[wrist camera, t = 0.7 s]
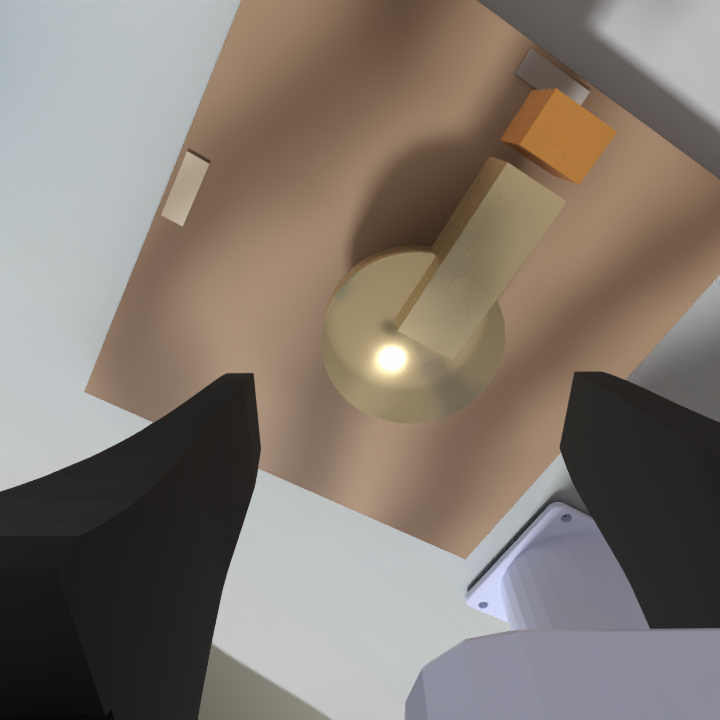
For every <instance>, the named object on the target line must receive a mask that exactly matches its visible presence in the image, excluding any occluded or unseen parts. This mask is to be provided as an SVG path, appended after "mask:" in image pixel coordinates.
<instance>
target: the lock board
mask: <svg viewBox="0 0 720 720" xmlns="http://www.w3.org/2000/svg"><path fill="white" fill-rule="evenodd" d="M553 88H557V89H558V90H560V91H561V92H562V93H564V94H565V95H567V96H568V97H569V98H571V99H572V100H574V101H575V102H576V103H578V104H579V105H581V106H582V107H583V108H585V109H586V110H587V111H589V112H590V113H592V114H593V115H594V116H596V117H597V118H599V119H600V120H601V121H603V122H604V123H605V124H607V125H608V126H610V127H611V128H612V129H614V130H615V131H617V133H616V134H615V136H614V137H613V139H612V140H611V141H610V143H609V144H608V146H607V147H606V148H605V150H604V151H603V153H602V154H601V155H600V157H599V158H598V159H597V161H596V162H595V164H594V165H593V166H592V168H591V169H590V171H589V172H588V173H587V175H586V176H585V177H584V179H583V180H582V182H581V183H580V184H579V185H578V184H575V183H572V182H569V181H566V180H563V179H560V178H557V177H554V176H552V175H551V174H549V173H548V172H546V171H545V170H543V169H542V168H540V167H539V166H537V165H536V164H534V163H533V162H531V161H530V160H528V159H527V158H526V157H524V156H523V155H521V154H520V153H518V152H517V151H515V150H514V149H512V148H511V147H509V146H508V145H506V144H505V143H503V142H502V141H500V140H501V138H502V136H503V135H504V133H505V132H506V130H507V129H508V127H509V126H510V124H511V122H512V121H513V119H514V118H515V116H516V115H517V113H518V111H519V110H520V108H521V107H522V105H523V104H524V102H525V100H526V99H527V97H528V96H529V94H530V93H531V91H533V90H543V89H553ZM490 156H491V157H494V158H497V159H499V160H502V161H505V162H508V163H510V164H511V165H513V166H514V167H516V168H517V169H519V170H520V171H522V172H523V173H525V174H526V175H528V176H529V177H531V178H532V179H534V180H535V181H537V182H538V183H540V184H541V185H543V186H544V187H546V188H547V189H549V190H550V191H552V192H553V193H555V194H556V195H558V196H559V197H561V198H562V199H564V200H565V201H567V202H566V204H565V205H564V207H563V208H562V209H561V211H560V212H559V213H558V215H557V216H556V218H555V219H554V220H553V222H552V223H551V225H550V226H549V227H548V229H547V230H546V231H545V233H544V234H543V236H542V237H541V238H540V240H539V241H538V243H537V244H536V245H535V247H534V248H533V250H532V251H531V252H530V254H529V255H528V256H527V258H526V259H525V261H524V262H523V263H522V265H521V266H520V268H519V269H518V270H517V272H516V273H515V274H514V276H513V277H512V279H511V280H510V281H509V283H508V284H507V286H506V287H505V288H504V290H503V291H502V292H501V294H500V295H499V297H498V298H497V301H498V303H499V306H500V308H501V311H502V314H503V318H504V322H505V334H506V335H505V347H504V352H503V356H502V359H501V362H500V365H499V367H498V369H497V371H496V373H495V375H494V377H493V379H492V380H491V381H490V383H489V384H488V386H487V387H486V388H485V389H484V390H483V392H482V393H481V394H480V395H479V396H478V397H476V398H475V399H474V400H473V401H472V402H471V403H469V404H468V405H466V406H465V407H464V408H462V409H460V410H458V411H457V412H455V413H453V414H450V415H448V416H446V417H443V418H440V419H437V420H433V421H428V422H423V423H410V424H408V423H395V422H389V421H385V420H381V419H378V418H375V417H373V416H370V415H368V414H366V413H364V412H362V411H361V410H359V409H357V408H356V407H355V406H353V405H352V404H351V403H349V402H348V401H347V400H346V399H345V398H344V397H343V396H342V395H341V394H340V393H339V391H338V390H337V389H336V388H335V386H334V385H333V383H332V381H331V379H330V378H329V376H328V373H327V371H326V368H325V365H324V361H323V357H322V348H321V339H322V329H323V321H324V316H325V310H326V307H327V304H328V301H329V299H330V297H331V295H332V293H333V291H334V289H335V288H336V286H337V285H338V283H339V282H340V280H341V279H342V278H343V277H344V276H345V275H346V274H347V272H349V271H350V270H351V269H352V268H353V267H354V266H355V265H357V264H358V263H360V262H361V261H363V260H364V259H366V258H367V257H369V256H371V255H373V254H375V253H378V252H380V251H383V250H386V249H389V248H394V247H399V246H410V245H417V246H428V247H432V246H433V245H434V243H435V242H436V240H437V238H438V237H439V235H440V234H441V232H442V231H443V229H444V227H445V226H446V224H447V223H448V221H449V220H450V218H451V216H452V215H453V213H454V212H455V210H456V209H457V207H458V205H459V204H460V202H461V201H462V199H463V198H464V196H465V194H466V193H467V191H468V190H469V188H470V187H471V185H472V184H473V182H474V180H475V179H476V177H477V176H478V174H479V173H480V171H481V169H482V168H483V166H484V165H485V163H486V162H487V160H488V158H489V157H490ZM719 275H720V179H719V178H717V177H716V176H714V175H713V174H712V173H710V172H709V171H708V170H706V169H705V168H704V167H702V166H701V165H700V164H698V163H697V162H695V161H694V160H693V159H691V158H690V157H689V156H687V155H686V154H685V153H683V152H682V151H681V150H679V149H678V148H676V147H675V146H674V145H672V144H671V143H670V142H668V141H667V140H666V139H664V138H663V137H662V136H660V135H659V134H657V133H656V132H655V131H653V130H652V129H651V128H649V127H648V126H647V125H645V124H644V123H643V122H641V121H640V120H638V119H637V118H636V117H634V116H633V115H632V114H630V113H629V112H628V111H626V110H625V109H624V108H622V107H621V106H620V105H618V104H617V103H615V102H614V101H613V100H611V99H610V98H609V97H607V96H606V95H605V94H603V93H602V92H601V91H599V90H598V89H596V88H595V87H594V86H592V85H591V84H590V83H588V82H587V81H586V80H584V79H583V78H582V77H580V76H579V75H577V74H576V73H575V72H573V71H572V70H571V69H569V68H568V67H567V66H565V65H564V64H563V63H561V62H560V61H558V60H557V59H556V58H554V57H553V56H552V55H550V54H549V53H548V52H546V51H545V50H544V49H542V48H541V47H539V46H538V45H537V44H535V43H534V42H533V41H531V40H530V39H529V38H527V37H526V36H525V35H523V34H522V33H520V32H519V31H518V30H516V29H515V28H514V27H512V26H511V25H510V24H508V23H507V22H506V21H504V20H503V19H501V18H500V17H499V16H497V15H496V14H495V13H493V12H492V11H491V10H489V9H488V8H487V7H485V6H484V5H482V4H481V3H480V2H478V1H477V0H241V3H240V5H239V8H238V10H237V13H236V15H235V18H234V20H233V23H232V25H231V28H230V30H229V33H228V35H227V38H226V40H225V43H224V45H223V48H222V50H221V53H220V55H219V58H218V60H217V63H216V65H215V68H214V70H213V73H212V75H211V78H210V80H209V83H208V85H207V88H206V90H205V93H204V95H203V97H202V100H201V102H200V105H199V107H198V110H197V112H196V115H195V117H194V120H193V122H192V125H191V127H190V130H189V132H188V135H187V137H186V140H185V142H184V145H183V147H182V150H181V152H180V155H179V157H178V160H177V162H176V165H175V167H174V170H173V172H172V175H171V177H170V180H169V182H168V185H167V187H166V190H165V192H164V195H163V197H162V200H161V202H160V205H159V207H158V209H157V212H156V214H155V217H154V219H153V222H152V224H151V227H150V229H149V232H148V234H147V237H146V239H145V242H144V244H143V247H142V249H141V252H140V254H139V257H138V259H137V262H136V264H135V267H134V269H133V272H132V274H131V277H130V279H129V282H128V284H127V287H126V289H125V292H124V294H123V297H122V299H121V302H120V304H119V307H118V309H117V312H116V314H115V316H114V319H113V321H112V324H111V326H110V329H109V331H108V334H107V336H106V339H105V341H104V344H103V346H102V349H101V351H100V354H99V356H98V359H97V361H96V364H95V366H94V369H93V371H92V374H91V376H90V379H89V381H88V384H87V386H86V389H85V391H84V392H86V393H88V394H90V395H92V396H95V397H97V398H99V399H102V400H104V401H106V402H108V403H111V404H113V405H115V406H118V407H120V408H122V409H124V410H127V411H129V412H131V413H133V414H136V415H138V416H140V417H143V418H145V419H147V420H149V421H152V422H155V421H157V420H159V419H160V418H162V417H163V416H165V415H166V414H168V413H170V412H171V411H173V410H174V409H176V408H177V407H178V406H180V405H181V404H183V403H184V402H186V401H187V400H188V399H190V398H191V397H193V396H194V395H195V394H197V393H198V392H200V391H201V390H202V389H204V388H205V387H206V386H208V385H209V384H211V383H212V382H213V381H215V380H216V379H218V378H219V377H221V376H222V375H224V374H226V373H254V381H255V391H256V401H257V412H258V422H259V432H260V443H261V453H260V460H259V466H258V468H259V469H261V470H263V471H266V472H268V473H270V474H272V475H275V476H277V477H279V478H282V479H284V480H286V481H288V482H291V483H293V484H295V485H297V486H300V487H302V488H304V489H307V490H309V491H311V492H313V493H316V494H318V495H320V496H323V497H325V498H327V499H329V500H332V501H334V502H336V503H338V504H341V505H343V506H345V507H348V508H350V509H352V510H354V511H357V512H359V513H361V514H363V515H366V516H368V517H370V518H373V519H375V520H377V521H379V522H382V523H384V524H386V525H389V526H391V527H393V528H395V529H398V530H400V531H402V532H404V533H407V534H409V535H411V536H414V537H416V538H418V539H420V540H423V541H425V542H427V543H430V544H432V545H434V546H436V547H439V548H441V549H443V550H445V551H448V552H450V553H452V554H455V555H457V556H459V557H461V558H464V559H466V558H467V557H468V556H469V555H470V554H471V552H472V551H473V550H474V549H475V548H476V547H477V546H478V545H479V543H480V542H481V541H482V540H483V539H484V538H485V537H486V536H487V534H488V533H489V532H490V531H491V530H492V529H493V528H494V527H495V525H496V524H497V523H498V522H499V521H500V520H501V519H502V518H503V517H504V515H505V514H506V513H507V512H508V511H509V510H510V509H511V508H512V506H513V505H514V504H515V503H516V502H517V501H518V500H519V499H520V497H521V496H522V495H523V494H524V493H525V492H526V491H527V490H528V489H529V487H530V486H531V485H532V484H533V483H534V482H535V481H536V480H537V478H538V477H539V476H540V475H541V474H542V473H543V472H544V471H545V469H546V468H547V467H548V466H549V465H550V464H551V463H552V462H553V461H554V459H555V458H556V457H557V456H558V455H559V454H560V453H561V451H560V448H559V447H560V442H561V437H562V432H563V427H564V422H565V417H566V412H567V407H568V401H569V396H570V391H571V386H572V381H573V376H574V372H587V371H602V372H605V373H608V374H611V375H614V376H617V377H619V378H622V379H624V380H626V379H627V378H628V377H629V375H630V374H631V373H632V372H633V371H634V370H635V369H636V368H637V366H638V365H639V364H640V363H641V362H642V361H643V360H644V359H645V357H646V356H647V355H648V354H649V353H650V352H651V351H652V350H653V348H654V347H655V346H656V345H657V344H658V343H659V342H660V341H661V340H662V338H663V337H664V336H665V335H666V334H667V333H668V332H669V331H670V329H671V328H672V327H673V326H674V325H675V324H676V323H677V322H678V320H679V319H680V318H681V317H682V316H683V315H684V314H685V313H686V312H687V310H688V309H689V308H690V307H691V306H692V305H693V304H694V303H695V301H696V300H697V299H698V298H699V297H700V296H701V295H702V294H703V292H704V291H705V290H706V289H707V288H708V287H709V286H710V285H711V284H712V282H713V281H714V280H715V279H716V278H717V277H718V276H719Z"/></svg>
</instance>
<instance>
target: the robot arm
mask: <svg viewBox="0 0 720 720" xmlns="http://www.w3.org/2000/svg"><path fill="white" fill-rule="evenodd" d="M559 448H560V451H561V453H562V456H563V459H564V462H565V464H566V467H567V470H568V472H569V474H570V477H571V479H572V482H573V484H574V486H575V488H576V490H577V492H578V493H579V495H580V497H581V499H582V500H583V502H584V504H585V506H586V508H587V509H588V511H589V513H590V515H591V516H592V517H590V516H588V515H586V514H584V513H582V512H580V511H578V510H576V509H574V508H572V507H570V506H568V505H566V504H564V503H561V502H554V503H551V504H550V505H549V506H548V507H547V508H546V509H545V510H544V511H543V512H542V513H541V514H540V515H539V516H538V518H537V519H536V520H535V521H534V522H533V523H532V524H531V525H530V526H529V527H528V528H527V529H526V530H525V532H524V533H523V534H522V535H521V536H520V537H519V538H518V539H517V540H516V541H515V542H514V543H513V544H512V546H511V547H510V548H509V549H508V550H507V551H506V552H505V553H504V554H503V555H502V556H501V557H500V558H499V560H498V561H497V562H496V563H495V564H494V565H493V566H492V567H491V568H490V569H489V570H488V571H487V572H486V573H485V575H484V576H483V577H482V578H481V579H480V580H479V581H478V582H477V583H476V584H475V585H474V586H473V587H472V589H471V590H470V591H469V592H468V593H467V594H466V597H465V599H466V603H467V605H468V606H470V607H472V608H474V609H477V610H479V611H481V612H484V613H486V614H489V615H491V616H493V617H496V618H498V619H501V620H503V621H506V622H508V623H509V626H510V630H511V631H507V632H502V633H497V634H491V635H486V636H481V637H475V638H470V639H465V640H464V641H462V642H461V643H459V644H457V645H456V646H454V647H453V648H451V649H450V650H448V651H446V652H445V653H443V654H442V655H440V656H438V657H437V658H435V659H434V660H432V661H431V662H429V663H428V664H427V665H426V666H425V667H423V668H422V669H421V672H420V674H419V676H418V678H417V680H416V682H415V684H414V686H413V688H412V690H411V692H410V694H409V696H408V698H407V700H406V705H405V720H720V423H719V422H717V421H714V420H712V419H710V418H707V417H705V416H703V415H700V414H698V413H696V412H694V411H691V410H689V409H687V408H685V407H683V406H680V405H678V404H676V403H674V402H672V401H670V400H668V399H665V398H663V397H661V396H659V395H657V394H655V393H653V392H650V391H648V390H646V389H644V388H642V387H640V386H637V385H635V384H633V383H631V382H629V381H626V380H624V379H622V378H619V377H617V376H614V375H611V374H608V373H605V372H602V371H587V372H574V376H573V381H572V386H571V391H570V396H569V401H568V407H567V412H566V417H565V422H564V427H563V432H562V437H561V442H560V447H559ZM260 453H261V443H260V432H259V422H258V412H257V401H256V391H255V381H254V373H226V374H224V375H222V376H221V377H219V378H218V379H216V380H215V381H213V382H212V383H211V384H209V385H208V386H206V387H205V388H204V389H202V390H201V391H200V392H198V393H197V394H195V395H194V396H193V397H191V398H190V399H188V400H187V401H186V402H184V403H183V404H181V405H180V406H178V407H177V408H176V409H174V410H173V411H171V412H170V413H168V414H166V415H165V416H163V417H162V418H160V419H159V420H157V421H155V422H154V423H152V424H151V425H149V426H148V427H146V428H144V429H143V430H141V431H140V432H138V433H136V434H134V435H133V436H131V437H129V438H127V439H125V440H124V441H122V442H120V443H118V444H116V445H114V446H112V447H110V448H108V449H106V450H104V451H102V452H100V453H98V454H96V455H94V456H92V457H90V458H87V459H85V460H83V461H80V462H78V463H75V464H73V465H71V466H68V467H66V468H63V469H61V470H59V471H56V472H54V473H52V474H49V475H47V476H44V477H42V478H39V479H36V480H33V481H30V482H28V483H25V484H22V485H19V486H16V487H13V488H10V489H7V490H4V491H1V492H0V720H198V714H199V708H200V703H201V697H202V691H203V685H204V680H205V675H206V669H207V665H208V659H209V654H210V649H211V644H212V638H213V633H214V628H215V624H216V619H217V614H218V609H219V604H220V600H221V595H222V590H223V586H224V583H225V579H226V575H227V572H228V568H229V565H230V562H231V559H232V556H233V553H234V550H235V547H236V544H237V541H238V538H239V535H240V532H241V528H242V525H243V522H244V519H245V516H246V513H247V510H248V507H249V504H250V500H251V497H252V494H253V491H254V487H255V483H256V477H257V472H258V466H259V460H260ZM566 514H568V515H567V516H565V517H562V516H564V515H566Z"/></svg>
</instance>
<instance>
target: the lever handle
mask: <svg viewBox="0 0 720 720" xmlns="http://www.w3.org/2000/svg"><path fill="white" fill-rule="evenodd" d="M616 133H617V131H615V130H614V129H612V128H611V127H610V126H608V125H607V124H605V123H604V122H603V121H601V120H600V119H599V118H597V117H596V116H594V115H593V114H592V113H590V112H589V111H587V110H586V109H585V108H583V107H582V106H581V105H579V104H578V103H576V102H575V101H574V100H572V99H571V98H569V97H568V96H567V95H565V94H564V93H562V92H561V91H560V90H558V89H557V88H553V89H543V90H533V91H531V93H530V94H529V96H528V97H527V99H526V100H525V102H524V104H523V105H522V107H521V108H520V110H519V111H518V113H517V115H516V116H515V118H514V119H513V121H512V122H511V124H510V126H509V127H508V129H507V130H506V132H505V133H504V135H503V136H502V138H501V140H500V141H502V142H503V143H505V144H506V145H508V146H509V147H511V148H512V149H514V150H515V151H517V152H518V153H520V154H521V155H523V156H524V157H526V158H527V159H528V160H530V161H531V162H533V163H534V164H536V165H537V166H539V167H540V168H542V169H543V170H545V171H546V172H548V173H549V174H551V175H552V176H554V177H557V178H560V179H563V180H566V181H569V182H572V183H575V184H578V185H579V184H580V183H581V182H582V180H583V179H584V177H585V176H586V175H587V173H588V172H589V171H590V169H591V168H592V166H593V165H594V164H595V162H596V161H597V159H598V158H599V157H600V155H601V154H602V153H603V151H604V150H605V148H606V147H607V146H608V144H609V143H610V141H611V140H612V139H613V137H614V136H615V134H616ZM566 202H567V201H565V200H564V199H562V198H561V197H559V196H558V195H556V194H555V193H553V192H552V191H550V190H549V189H547V188H546V187H544V186H543V185H541V184H540V183H538V182H537V181H535V180H534V179H532V178H531V177H529V176H528V175H526V174H525V173H523V172H522V171H520V170H519V169H517V168H516V167H514V166H513V165H511V164H510V163H508V162H505V161H502V160H499V159H497V158H494V157H491V156H490V157H489V158H488V160H487V162H486V163H485V165H484V166H483V168H482V169H481V171H480V173H479V174H478V176H477V177H476V179H475V180H474V182H473V184H472V185H471V187H470V188H469V190H468V191H467V193H466V194H465V196H464V198H463V199H462V201H461V202H460V204H459V205H458V207H457V209H456V210H455V212H454V213H453V215H452V216H451V218H450V220H449V221H448V223H447V224H446V226H445V227H444V229H443V231H442V232H441V234H440V235H439V237H438V238H437V240H436V242H435V243H434V245H433V246H432V247H428V246H417V245H410V246H399V247H394V248H389V249H386V250H383V251H380V252H378V253H375V254H373V255H371V256H369V257H367V258H366V259H364V260H363V261H361V262H360V263H358V264H357V265H355V266H354V267H353V268H352V269H351V270H350V271H349V272H347V274H346V275H345V276H344V277H343V278H342V279H341V280H340V282H339V283H338V285H337V286H336V288H335V289H334V291H333V293H332V295H331V297H330V299H329V301H328V304H327V307H326V310H325V316H324V321H323V329H322V339H321V348H322V357H323V361H324V365H325V368H326V371H327V373H328V376H329V378H330V379H331V381H332V383H333V385H334V386H335V388H336V389H337V390H338V391H339V393H340V394H341V395H342V396H343V397H344V398H345V399H346V400H347V401H348V402H349V403H351V404H352V405H353V406H355V407H356V408H357V409H359V410H361V411H362V412H364V413H366V414H368V415H370V416H373V417H375V418H378V419H381V420H385V421H389V422H395V423H408V424H410V423H423V422H428V421H433V420H437V419H440V418H443V417H446V416H448V415H450V414H453V413H455V412H457V411H458V410H460V409H462V408H464V407H465V406H466V405H468V404H469V403H471V402H472V401H473V400H474V399H475V398H476V397H478V396H479V395H480V394H481V393H482V392H483V390H484V389H485V388H486V387H487V386H488V384H489V383H490V381H491V380H492V379H493V377H494V375H495V373H496V371H497V369H498V367H499V365H500V362H501V359H502V356H503V352H504V347H505V335H506V334H505V322H504V318H503V314H502V311H501V308H500V306H499V303H498V301H497V298H498V297H499V295H500V294H501V292H502V291H503V290H504V288H505V287H506V286H507V284H508V283H509V281H510V280H511V279H512V277H513V276H514V274H515V273H516V272H517V270H518V269H519V268H520V266H521V265H522V263H523V262H524V261H525V259H526V258H527V256H528V255H529V254H530V252H531V251H532V250H533V248H534V247H535V245H536V244H537V243H538V241H539V240H540V238H541V237H542V236H543V234H544V233H545V231H546V230H547V229H548V227H549V226H550V225H551V223H552V222H553V220H554V219H555V218H556V216H557V215H558V213H559V212H560V211H561V209H562V208H563V207H564V205H565V204H566Z"/></svg>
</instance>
